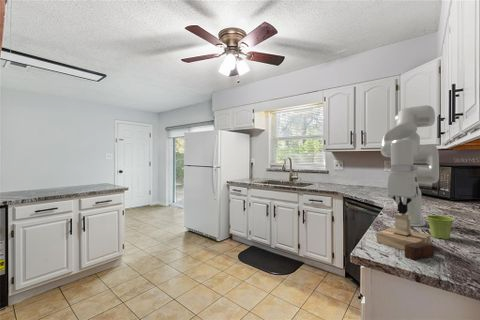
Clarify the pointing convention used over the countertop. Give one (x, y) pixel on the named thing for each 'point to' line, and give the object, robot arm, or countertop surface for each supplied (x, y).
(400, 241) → the seat board
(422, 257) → the brick
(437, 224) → the plant pot
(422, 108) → the robot arm
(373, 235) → the countertop surface
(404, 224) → the peg
